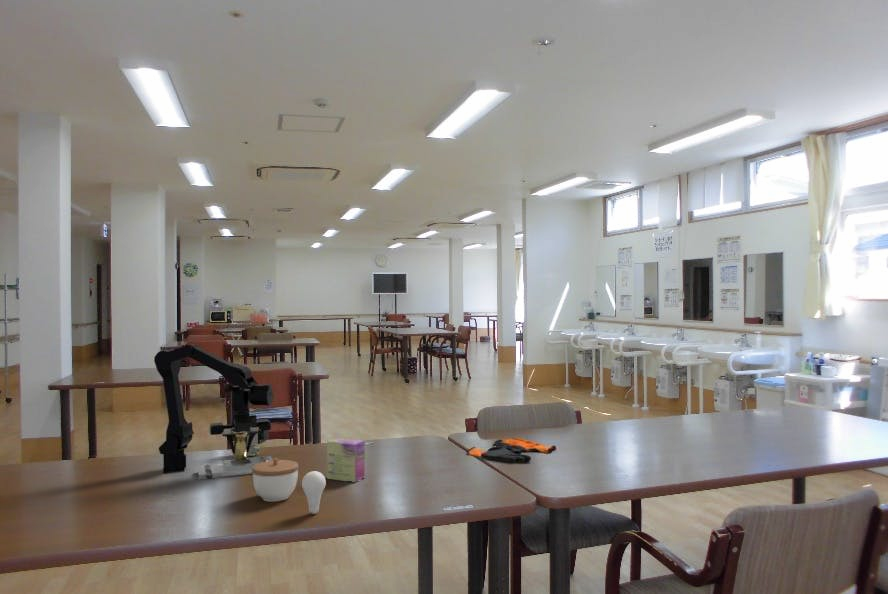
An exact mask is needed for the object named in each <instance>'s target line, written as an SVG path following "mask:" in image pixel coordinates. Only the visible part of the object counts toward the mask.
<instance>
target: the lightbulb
mask: <svg viewBox="0 0 888 594" xmlns="http://www.w3.org/2000/svg"><path fill="white" fill-rule="evenodd" d="M301 480H302V481H301V487H302V490H303V492H304V493H305V496H306V499H307V504H308V511H309V513H311V514H312V515H315V514H317V513H318V512H319V510H320V503H321V497H322V494H323V492H324V490H325V487H326V485H327V483H326V482H327V481H326V477H325V476H324V474H323V473H322V472H320V471H316V470H312V471H309V472H307V473H306V474H305V475H304V477H303V478H302V479H301Z"/></svg>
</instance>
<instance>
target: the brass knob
mask: <svg viewBox="0 0 888 594" xmlns="http://www.w3.org/2000/svg"><path fill="white" fill-rule="evenodd" d="M232 434H233V443H234V454H233V460H234V461H236V462H241V461H246V460H247V458H248V456H247V436H248V432H246V431H244V432H239V433H237V432H234V431H233V432H232Z"/></svg>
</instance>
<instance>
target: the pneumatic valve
mask: <svg viewBox="0 0 888 594" xmlns="http://www.w3.org/2000/svg"><path fill="white" fill-rule="evenodd" d="M258 431H259V433H258V434H256V435H255V436H254V438H253V440H252V443H251V446H250V449H249V452H248V453H247V457H256V455H257V456H258V454H259V453H260V447H259V445H261V444H263V443H265V442H266V441H268V439H269V438H270V437H269V436H270V430H264V431H261V430H260V429H258ZM233 432H235V430H233Z"/></svg>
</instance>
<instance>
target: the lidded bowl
mask: <svg viewBox="0 0 888 594" xmlns="http://www.w3.org/2000/svg"><path fill="white" fill-rule="evenodd" d="M272 459H273V460H272V461H265V462H261V463H258V464H256V465H254V466H253V467H252V472H253V474H252V483H253V486H254V489H255V492H256V494H257V495H258V496H259V497H261V498H262V500H263V502H264V501H265V502H275V503H276V502H281V501H285V500H287V499H289V497H290V495H291V494H292V493H293V492H294V491H295V489H296V486H297V484H298V477H299V463H298V462H296V461H294V460H291V459H290V460H288V459H278V458H277V457H275V458H272Z"/></svg>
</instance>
